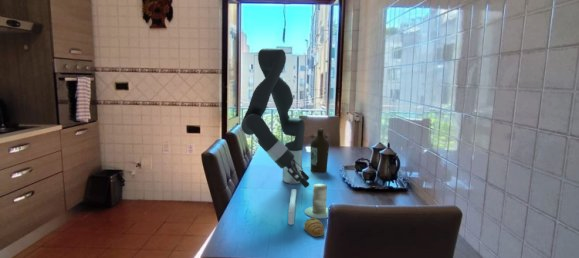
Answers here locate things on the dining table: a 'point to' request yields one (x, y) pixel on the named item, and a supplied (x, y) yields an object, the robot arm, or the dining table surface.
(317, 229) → the pastry
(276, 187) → the dining table surface
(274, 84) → the robot arm
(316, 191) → the dome-topped cylinder
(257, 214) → the dining table surface
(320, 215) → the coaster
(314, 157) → the olive oil
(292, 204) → the wall
